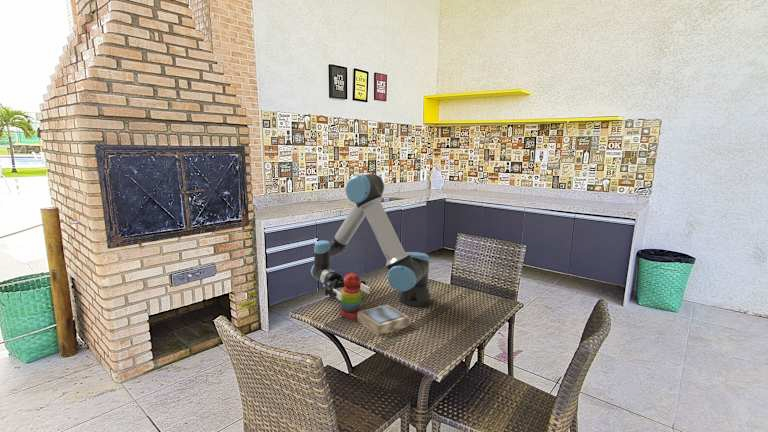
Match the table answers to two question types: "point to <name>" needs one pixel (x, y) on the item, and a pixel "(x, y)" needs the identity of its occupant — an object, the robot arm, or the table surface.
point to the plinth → (382, 319)
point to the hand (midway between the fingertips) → (355, 293)
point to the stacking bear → (351, 297)
